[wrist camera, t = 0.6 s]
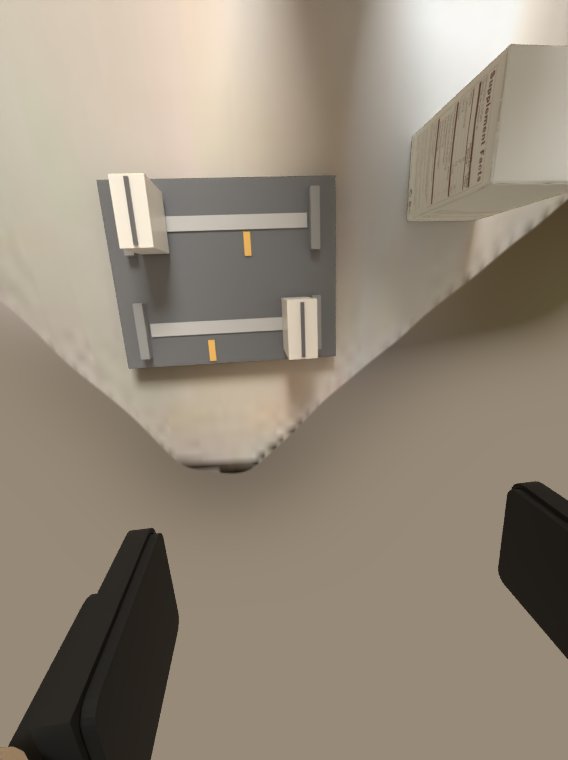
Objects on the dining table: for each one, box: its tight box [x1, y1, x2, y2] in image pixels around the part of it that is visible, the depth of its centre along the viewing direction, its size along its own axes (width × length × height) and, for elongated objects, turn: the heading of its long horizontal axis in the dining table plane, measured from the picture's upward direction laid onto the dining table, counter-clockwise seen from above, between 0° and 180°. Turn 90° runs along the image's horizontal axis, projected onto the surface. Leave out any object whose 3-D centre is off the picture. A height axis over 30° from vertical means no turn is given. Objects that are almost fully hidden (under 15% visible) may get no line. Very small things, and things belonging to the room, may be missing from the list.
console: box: [97, 176, 336, 369], centre depth 31 cm, size 16×20×3 cm
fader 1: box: [108, 173, 169, 254], centre depth 26 cm, size 5×2×5 cm, turn 2°
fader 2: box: [281, 297, 318, 360], centre depth 30 cm, size 5×2×5 cm, turn 2°
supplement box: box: [407, 44, 568, 221], centre depth 26 cm, size 7×7×13 cm
